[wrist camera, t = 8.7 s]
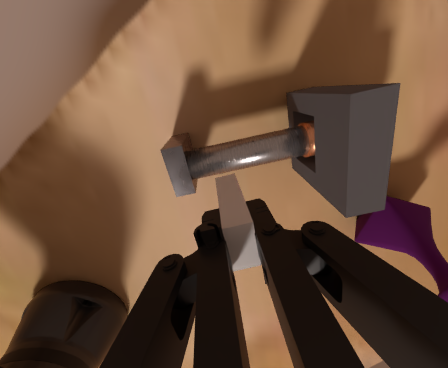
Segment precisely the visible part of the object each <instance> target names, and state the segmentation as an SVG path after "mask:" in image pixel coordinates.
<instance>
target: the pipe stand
mask: <svg viewBox="0 0 448 368" xmlns="http://www.w3.org/2000/svg"><path fill="white" fill-rule="evenodd" d="M398 98H399V97H398ZM397 106H398V105H397ZM161 153H162V156H163V159H164V162H165V165H166V168H167V171H168V174H169V177H170V179H171V182H172V185H173V188H174V191H175V194H176V197H179V196H184V195H188V194H193V193H196V187H197V179H198V178H203V177H207V176H212V175H216V174H221V173H226V172H230V171H235V170H239V169H244V168H248V167H253V166H258V165H262V164H267V163H271V162H276V161H280V160H285V159H290V158H294V157H299V156H304V157H310V156H315V134H314V120H312V121H308V122H303V123H300V124H299V125H298V126H297V127H292V128H288V129H283V130H279V131H274V132H270V133H265V134H261V135H256V136H252V137H247V138H243V139H238V140H234V141H229V142H225V143H220V144H216V145H212V146H207V147H203V148H198V149H194V150H193V149H192V145H191V141H190V138H189V134H188V133H185V134H181V135H176V136H172V137H171V138H170V139H169V141H168V142H167V143H166V144H165V145H164V147H163V148H162V149H161Z"/></svg>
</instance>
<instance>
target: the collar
mask: <svg viewBox="0 0 448 368" xmlns="http://www.w3.org/2000/svg"><path fill="white" fill-rule="evenodd" d="M399 89H400V83H391V84H369V85H346V86H323V87H311V88H306V89H302V90H298V91H293V92H289V93H286V94H287V106H288V119H289V128H292V127H297V126H298V125H299V124H300V123H303V122H308V121H312V120H314V134H315V156H310V157H304V156H299V157H294V158H292V168H293V169H294V170H295V171H296V172H297V173H298V174H299V175H300V176H302V177H303V178H304V179H305V180H306V181H307V182H308V183H309V184H310V185H311V186H312V187H313V188H314V189H316V190H317V191H318V192H319V193H320V194H321V195H322V196H323V197H324V198H325V199H326V200H327V201H328V202H330V203H331V204H332V205H333V206H334V207H335V208H336V209H337V210H338V211H339V212H340V213H341V214H343V215H344V216H345V217H346V218H347V217H352V216H357V215H362V214H366V213H371V212H376V211H381V210H385V203H386V195H387V187H388V179H389V170H390V162H391V154H392V146H393V138H394V130H395V122H396V114H397V105H398V97H399Z"/></svg>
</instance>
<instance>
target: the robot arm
mask: <svg viewBox="0 0 448 368" xmlns="http://www.w3.org/2000/svg"><path fill="white" fill-rule="evenodd" d="M215 179H216V187H217V195H218V203H219V209H214V210H210V211H206V212H205V213H204V214H203V216H202V224H201V225H200V226H198V227H197V228H196V229H195V231H194V233H193V234H194V237H195V240H196V243H197V245H198V250H197V251H195V252H194V253H193V254H191V255H189V256H187V257H185V258H183V257H182V256H181V255H179V254H172V255H168V256H166V257H164V258H163V259H162V260H160V261H159V262H158V264H157V265H156V267H155V269H154V270H153V272H152V274H151V276H150V277H149V279H148V281H147V283H146V285H145V286H144V288H143V290H142V292H141V294H140V295H139V297H138V299H137V301H136V303H135V304H134V306H133V308H132V310H131V312H130V313H129V315H128V317H127V310H126V308H125V306H124V304H123V302H122V301H121V300H120V299H119V298H118V297H117V296H116V295H115V294H113V293H112V292H111V291H109V290H107V289H105V288H103V287H101V286H98V285H95V284H92V283H88V282H82V281H63V282H57V283H54V284H51V285H48V286H46V287H44V288H43V289H41V290H40V291H39V292H38V293H37V294H36V296H35V297H34V298H33V299H32V300H31V301H30V303H29V304H28V305H27V307H26V308H25V310H24V312H23V315H22V319H21V322H20V324H19V326H18V328H17V330H16V332H15V334H14V336H13V338H12V340H11V342H10V345H9V347H8V349H7V351H6V352H5V354H4V355H3V357H2V358H1V359H0V368H98V367H99V366H100V367H99V368H181V366H182V362H183V359H184V355H185V351H186V348H187V344H188V340H189V337H190V333H191V329H192V326H193V322H194V318H195V338H194V364H193V368H250V364H249V358H248V352H247V346H246V340H245V335H244V329H243V323H242V317H241V311H240V305H239V299H238V293H237V287H236V281H235V277H234V273H233V271H238V270H242V269H246V268H251V267H255V266H259V265H261V264H262V268H263V273H264V279H265V284H267V286H268V289H269V292H270V295H271V298H272V301H273V304H274V307H275V310H276V313H277V316H278V319H279V322H280V326H281V329H282V332H283V335H284V338H285V341H286V344H287V347H288V350H289V353H290V356H291V359H292V362H293V366H294V368H364V366H363V364H362V362H361V361H360V359H359V357H358V356H357V354H356V352H355V350H354V349H353V347H352V345H351V344H350V342H349V340H348V338H347V337H346V335H345V333H344V332H343V330H342V328H341V326H340V325H339V323H338V321H337V320H336V318H335V316H334V314H333V313H332V311H331V309H330V307H329V306H328V304H327V302H326V301H325V299H324V297H323V295H324V296H325V297H326V298H327V299H328V301H329V302H330V303H331V304H332V305H333V306H334V307H335V308H336V309H337V310H338V311H339V313H340V314H341V315H342V316H343V317H344V318H345V319H346V320H347V321H348V322H349V323H350V324H351V326H352V327H353V328H354V329H355V330H356V331H357V332H358V333H359V334H360V335H361V336H362V338H363V339H364V340H365V341H366V342H367V343H368V344H369V345H370V346H371V347H372V348H373V349H374V351H375V352H376V353H377V354H378V355H379V356H380V357H381V358H382V359H383V360H384V361H385V363H386V364H387V365H388V366H389V367H390V368H448V302H446V301H445V300H443V299H442V298H440V297H439V296H437V295H436V294H434V293H433V292H431V291H430V290H428V289H427V288H425V287H423V286H422V285H420V284H419V283H417V282H416V281H414V280H413V279H411V278H410V277H408V276H407V275H405V274H404V273H402V272H401V271H399V270H398V269H396V268H395V267H393V266H392V265H390V264H388V263H387V262H385V261H384V260H382V259H381V258H379V257H378V256H376V255H375V254H373V253H372V252H370V251H369V250H367V249H366V248H364V247H363V246H361V245H360V244H358V243H357V242H355V241H353V240H352V239H350V238H349V237H347V236H346V235H344V234H343V233H341V232H340V231H338V230H337V229H335V228H334V227H332V226H331V225H329V224H327V223H325V222H321V221H310V222H307V223H305V224H303V226H302V227H301V230H287V229H283V227H282V226H281V225H280V224H278V223H276V221H275V219H274V218H273V216H272V214H271V212H270V210H269V209H268V207H267V205H266V203H265V201H263V200H261V199H255V200H250V201H246V202H245V199H244V197H243V194H242V191H241V189H240V186H239V184H238V181H237V178H236V176H235V174H231V175H226V176H222V177H218V178H215ZM321 293H322V294H323V295H322V294H321ZM102 361H103V362H102ZM101 363H102V364H101ZM100 364H101V365H100Z"/></svg>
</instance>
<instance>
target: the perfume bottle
mask: <svg viewBox="0 0 448 368" xmlns="http://www.w3.org/2000/svg"><path fill="white" fill-rule="evenodd" d="M355 241H356V242H358V243H362V244H367V245H371V246H376V247H381V248H385V249H390V250H394V251H399V252H403V253H407V254H409V255H410V256H412V257H414V258H416V259H417V260H418V261H419V262H420V263H422V264H423V265H424V267H425V268H426V269H427V270H428V271H429V273H430V274H431V275H432V276H433V278H434V280H435V281H436V283H437V286H438V289H439V294H438V296H439V297H440V298H442V299H443V300H445V301H446V302H448V263H447V262H446V260H445V259H444V258H443V256H442V255H441V253H440V252H439V250H438V249H437V247H436V244H435V242H434V239H433V234H432V227H431V211H430V208H429V207H426V206H422V205H418V204H415V203H411V202H407V201H404V200H400V199H396V198H393V197H389V196H386V203H385V210H381V211H376V212H371V213H366V214H362V215H360V216H359V217H358V219H357V221H356V230H355Z"/></svg>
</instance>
